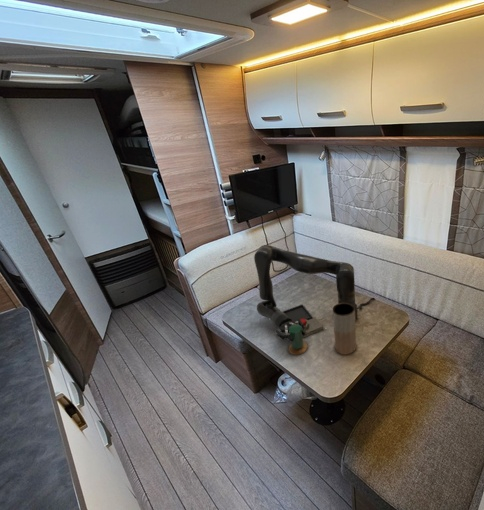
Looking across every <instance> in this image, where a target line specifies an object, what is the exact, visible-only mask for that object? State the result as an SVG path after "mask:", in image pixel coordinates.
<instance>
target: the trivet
mask: <svg viewBox="0 0 484 510" xmlns="http://www.w3.org/2000/svg"><path fill="white" fill-rule="evenodd" d="M303 343H304V345H303V347H302V348H300V349H293V348H292V347H291V344H289V346H288V352H289V353H290V354H291V355H294V356H300V355H303V354H304V353H305V352H306V351H307V350H308V344H307V342H305V341H304V340H303Z"/></svg>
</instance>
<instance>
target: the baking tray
mask: <svg viewBox="0 0 484 510" xmlns="http://www.w3.org/2000/svg"><path fill="white" fill-rule="evenodd" d="M281 311H282V310H281ZM282 312H284V313H285V314H286V315H287V316H288V317H289V318H290V319H291V320H292V321H294V322H296V321H298V319H306V320H310V319H313V316H312V314H311V312H309V311H308V309H307V308H306V307H305V306H304V304H300V305H297V306H294V307H291V308H288V309H285V310H283V311H282Z"/></svg>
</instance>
